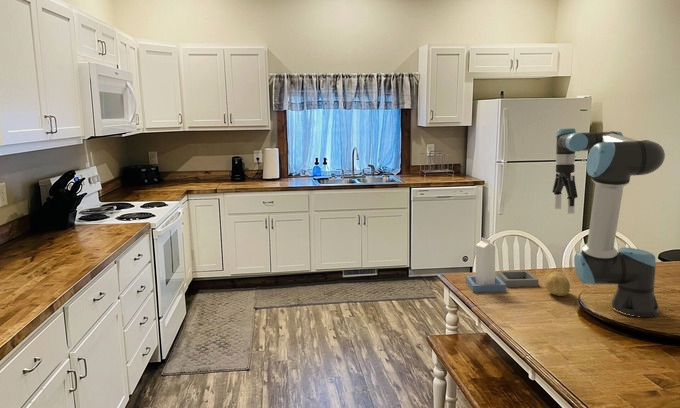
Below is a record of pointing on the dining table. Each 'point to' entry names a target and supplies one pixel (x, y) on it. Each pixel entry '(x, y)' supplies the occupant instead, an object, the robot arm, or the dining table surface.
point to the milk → (485, 262)
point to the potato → (557, 284)
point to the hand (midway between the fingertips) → (563, 211)
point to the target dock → (486, 285)
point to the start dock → (528, 281)
